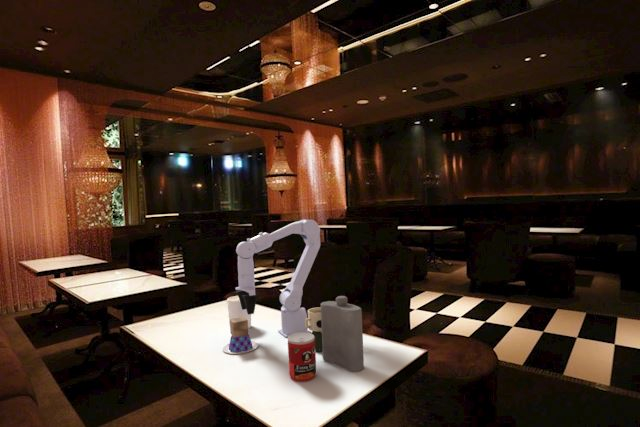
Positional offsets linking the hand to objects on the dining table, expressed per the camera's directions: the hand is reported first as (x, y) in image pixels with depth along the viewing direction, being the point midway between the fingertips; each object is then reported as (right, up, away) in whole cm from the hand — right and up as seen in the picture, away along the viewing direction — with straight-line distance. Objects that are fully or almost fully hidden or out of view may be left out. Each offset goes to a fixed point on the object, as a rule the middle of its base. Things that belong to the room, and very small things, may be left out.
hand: (247, 311), depth 132 cm
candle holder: (-6, -11, +15) cm, 19 cm away
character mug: (+26, -10, -11) cm, 30 cm away
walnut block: (-1, -6, -8) cm, 10 cm away
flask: (+34, -10, -23) cm, 42 cm away
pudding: (-1, -11, -8) cm, 13 cm away
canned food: (+22, -10, -31) cm, 39 cm away
